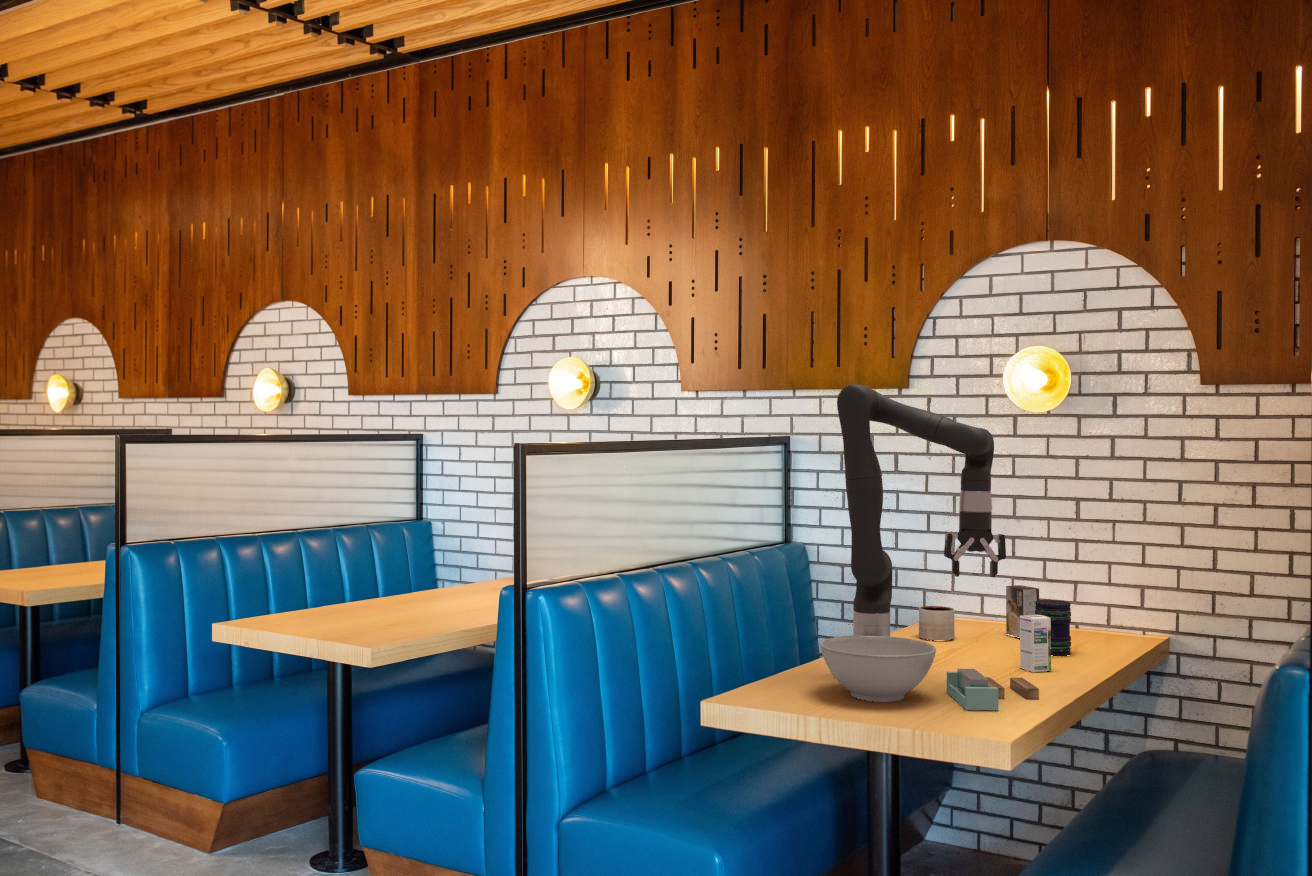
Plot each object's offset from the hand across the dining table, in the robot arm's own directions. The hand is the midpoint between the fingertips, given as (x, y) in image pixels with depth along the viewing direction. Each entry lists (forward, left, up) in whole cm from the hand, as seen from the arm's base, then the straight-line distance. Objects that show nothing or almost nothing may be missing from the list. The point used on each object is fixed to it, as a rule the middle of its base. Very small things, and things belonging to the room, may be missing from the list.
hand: (974, 576), depth 249 cm
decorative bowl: (-24, -6, -28) cm, 38 cm away
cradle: (-3, -10, -28) cm, 30 cm away
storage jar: (+37, +51, -28) cm, 69 cm away
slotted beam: (+8, -1, -28) cm, 29 cm away
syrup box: (+24, +27, -28) cm, 45 cm away
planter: (+9, +74, -28) cm, 80 cm away
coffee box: (+37, +78, -28) cm, 91 cm away
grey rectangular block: (-3, -11, -26) cm, 29 cm away
